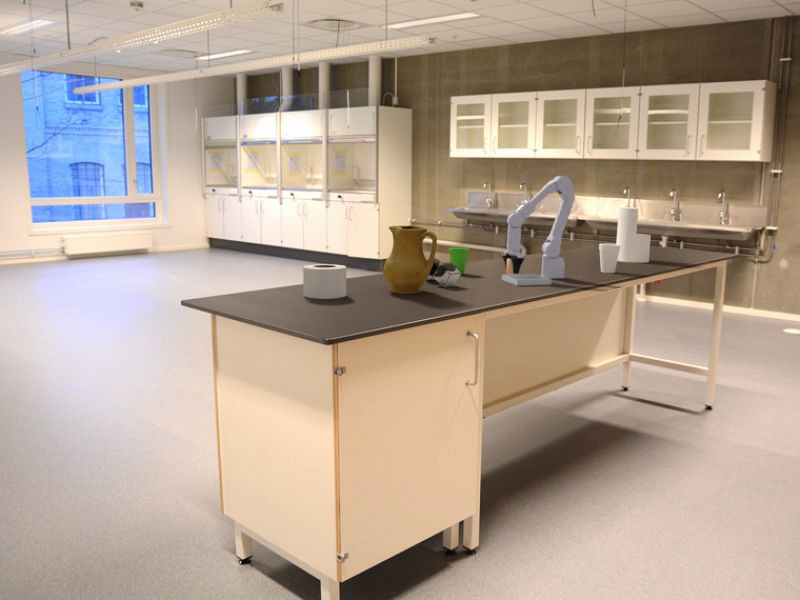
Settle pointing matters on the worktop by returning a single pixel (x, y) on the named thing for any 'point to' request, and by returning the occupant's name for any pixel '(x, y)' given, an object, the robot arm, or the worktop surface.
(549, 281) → the tray
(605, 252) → the foam cup
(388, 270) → the pitcher
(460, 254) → the cup
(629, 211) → the white l-shaped piece
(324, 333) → the worktop surface
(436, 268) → the black white sneaker
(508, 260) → the tumbler
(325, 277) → the white toilet paper roll
